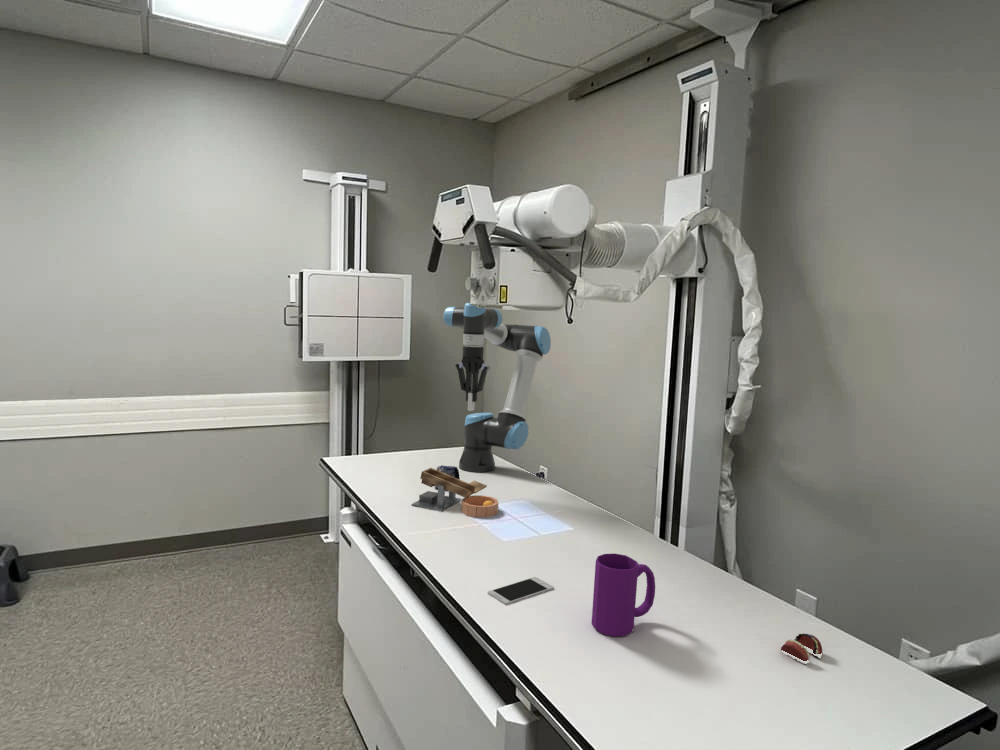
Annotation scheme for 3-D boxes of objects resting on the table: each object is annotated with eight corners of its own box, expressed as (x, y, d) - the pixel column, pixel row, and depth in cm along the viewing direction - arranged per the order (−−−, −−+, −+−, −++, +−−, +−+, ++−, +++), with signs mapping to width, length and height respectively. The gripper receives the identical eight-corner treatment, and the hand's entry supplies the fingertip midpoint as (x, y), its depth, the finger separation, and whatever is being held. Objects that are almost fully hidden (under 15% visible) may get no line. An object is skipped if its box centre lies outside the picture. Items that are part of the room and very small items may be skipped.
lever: (418, 483, 215) (421, 471, 214) (440, 472, 229) (443, 462, 228) (465, 503, 208) (468, 491, 207) (485, 491, 222) (488, 480, 221)
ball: (484, 508, 211) (486, 497, 211) (494, 511, 210) (496, 501, 209) (480, 511, 208) (481, 500, 207) (490, 514, 206) (491, 503, 206)
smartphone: (554, 590, 155) (554, 586, 155) (505, 606, 145) (505, 603, 145) (535, 579, 160) (535, 576, 160) (486, 594, 151) (486, 591, 151)
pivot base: (411, 505, 212) (412, 483, 211) (432, 495, 225) (433, 473, 224) (441, 511, 208) (442, 488, 207) (461, 500, 220) (461, 478, 220)
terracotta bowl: (471, 503, 218) (471, 493, 217) (503, 509, 213) (503, 499, 213) (455, 513, 207) (455, 502, 206) (488, 519, 202) (488, 509, 202)
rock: (461, 485, 230) (451, 460, 231) (436, 496, 231) (425, 471, 232) (467, 483, 241) (456, 459, 242) (442, 494, 241) (432, 470, 243)
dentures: (779, 635, 129) (801, 626, 134) (776, 654, 130) (799, 644, 134) (805, 649, 125) (827, 639, 129) (802, 669, 125) (824, 658, 130)
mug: (582, 621, 139) (587, 556, 138) (637, 608, 147) (642, 546, 145) (608, 641, 131) (613, 572, 130) (665, 627, 138) (670, 561, 137)
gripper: (452, 345, 227) (450, 409, 230) (485, 347, 222) (483, 413, 225) (461, 344, 233) (459, 406, 236) (493, 346, 229) (491, 410, 231)
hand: (470, 410), depth 231 cm, fingers closed
